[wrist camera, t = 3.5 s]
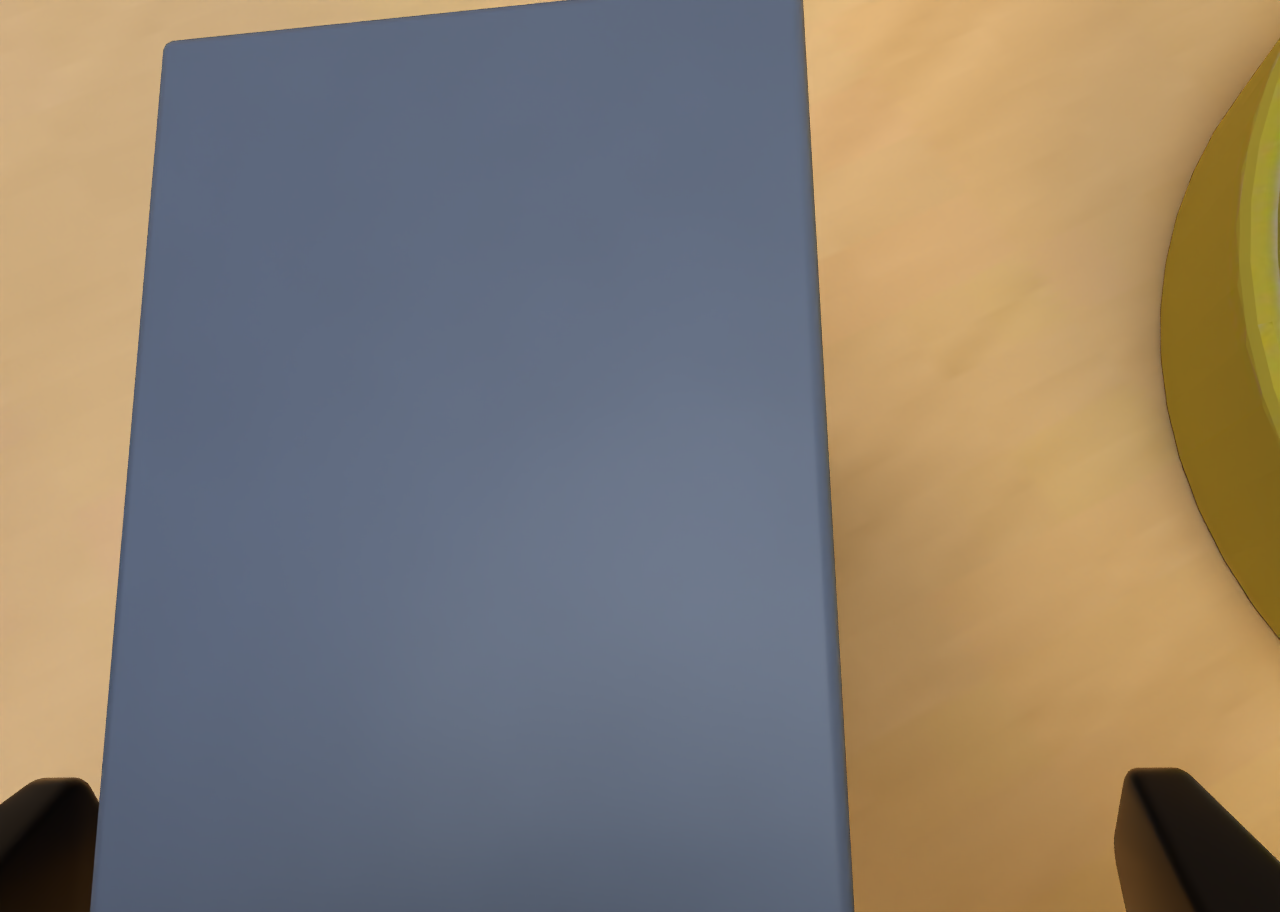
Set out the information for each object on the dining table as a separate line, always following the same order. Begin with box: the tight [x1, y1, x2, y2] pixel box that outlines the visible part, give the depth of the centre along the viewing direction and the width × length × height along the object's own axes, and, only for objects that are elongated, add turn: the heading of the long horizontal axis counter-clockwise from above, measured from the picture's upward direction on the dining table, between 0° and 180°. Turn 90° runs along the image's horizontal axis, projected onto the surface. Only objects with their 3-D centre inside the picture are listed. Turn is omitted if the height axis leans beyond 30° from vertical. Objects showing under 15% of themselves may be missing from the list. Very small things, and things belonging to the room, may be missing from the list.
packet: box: [90, 0, 854, 912], centre depth 13 cm, size 6×4×13 cm
